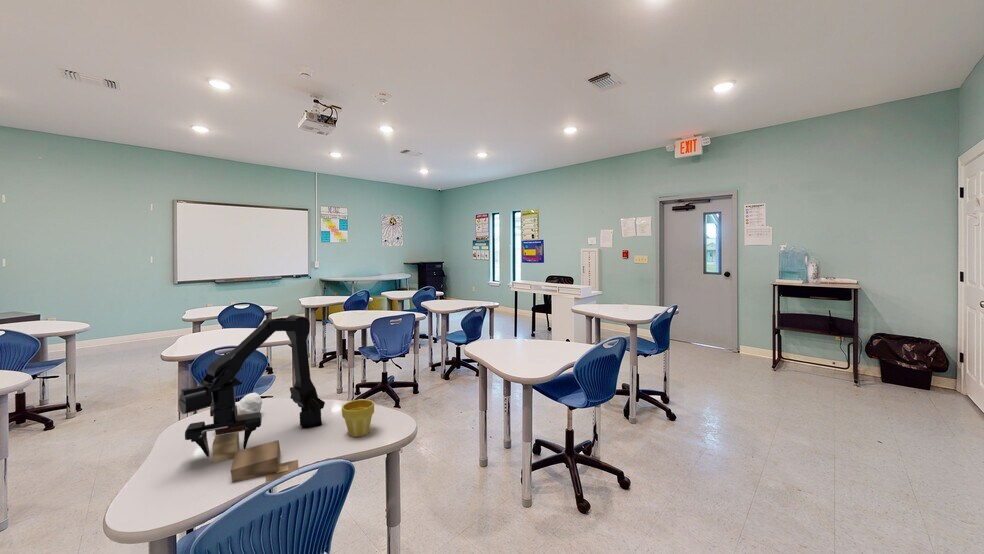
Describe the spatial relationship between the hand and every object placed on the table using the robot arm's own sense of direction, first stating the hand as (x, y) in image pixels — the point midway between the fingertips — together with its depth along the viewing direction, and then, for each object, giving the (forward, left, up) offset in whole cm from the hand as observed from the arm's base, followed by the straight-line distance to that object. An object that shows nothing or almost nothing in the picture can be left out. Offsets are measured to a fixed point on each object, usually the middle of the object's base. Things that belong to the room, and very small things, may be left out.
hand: (226, 452), depth 120 cm
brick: (0, -20, -2) cm, 20 cm away
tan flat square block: (-9, +12, -1) cm, 15 cm away
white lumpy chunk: (-2, -29, -2) cm, 29 cm away
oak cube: (0, 0, -1) cm, 1 cm away
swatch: (-15, +17, -1) cm, 23 cm away
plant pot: (-38, +2, -1) cm, 38 cm away
